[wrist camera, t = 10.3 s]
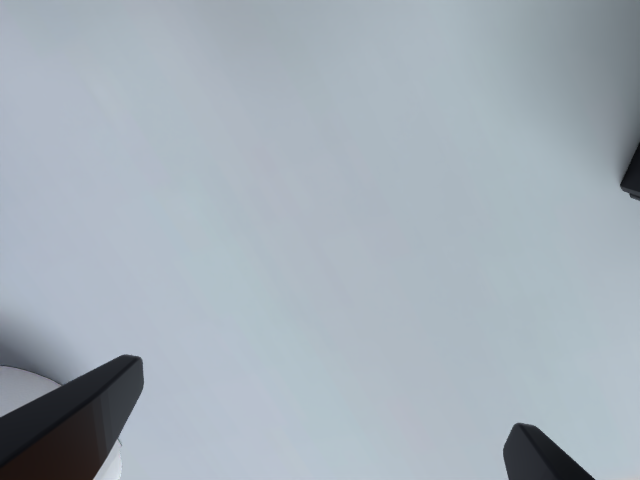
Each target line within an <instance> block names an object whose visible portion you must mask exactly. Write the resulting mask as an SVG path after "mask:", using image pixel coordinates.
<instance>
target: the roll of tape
mask: <svg viewBox="0 0 640 480" xmlns="http://www.w3.org/2000/svg"><path fill="white" fill-rule="evenodd" d="M60 386H61V385H60V384H58V383H56V382H55V381H53V380H51V379H48V378H46V377H43V376H40V375H38V374H35V373H33V372H29V371H25V370H22V369H18V368H13V367H7V366H0V417H1V416H3V415H5V414H7V413H9V412H11V411H13V410H15V409H17V408H19V407H21V406H23V405H25V404H27V403H29V402H31V401H33V400H35V399H37V398H39V397H41V396H43V395H45V394H47V393H49V392H50V391H52V390H54V389H56V388H58V387H60ZM121 448H122V446H121V444H120V442H119V440H118V439H117V440H116V442H115V444H114V446H113V448H112V450H111V452H110V453H109V455H108V457H107V459H106V460H105V462H104V463H103V465H102V467H101V468H100V470H99V471H98V473H97V474H96V476H95V478H94V479H93V480H119V479H120V476H121V471H122V461H121V455H120V450H121Z"/></svg>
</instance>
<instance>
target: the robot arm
mask: <svg viewBox="0 0 640 480" xmlns="http://www.w3.org/2000/svg"><path fill="white" fill-rule="evenodd" d="M620 186H621V189H622V190H623V191H624V192H628V193H630V197H631V198H633V199H636V200H639V201H640V143H639V145H638V147H637V149H636V152H635V154H634V156H633V158H632V160H631V163H630V165H629V167H628V169H627V171H626V174H625V176H624V178H623V180H622V182H621V185H620ZM143 385H144V376H143V362H142V359H141V357H138V356H133V355H127V354H125V355H121V356H119V357H117V358H115V359H113V360H111V361H109V362H107V363H105V364H103V365H101V366H100V367H98V368H96V369H94V370H92V371H90V372H88V373H86V374H84V375H82V376H80V377H78V378H76V379H74V380H72V381H70V382H68V383H66V384H64V385H62V386H60V387H58V388H56V389H54V390H52V391H50V392H49V393H47V394H45V395H43V396H41V397H39V398H37V399H35V400H33V401H31V402H29V403H27V404H25V405H23V406H21V407H19V408H17V409H15V410H13V411H11V412H9V413H7V414H5V415H3V416H1V417H0V480H93V479H94V478H95V476H96V474H97V473H98V471H99V470H100V468H101V467H102V465H103V463H104V462H105V460H106V459H107V457H108V455H109V453H110V452H111V450H112V448H113V446H114V444H115V442H116V440H117V439H118V437H119V435H120V433H121V431H122V429H123V427H124V425H125V423H126V421H127V419H128V417H129V416H130V414H131V412H132V410H133V408H134V406H135V404H136V402H137V400H138V398H139V396H140V394H141V392H142V390H143ZM503 457H504V462H505V466H506V470H507V474H508V478H509V480H595V479H594V478H593V477H592V476H591V475H590V474H589V473H587V472H586V471H585V470H584V469H583V468H582V467H581V466H580V465H579V464H577V463H576V462H575V461H574V460H573V459H572V458H571V457H570V456H569V455H567V454H566V453H565V452H564V451H563V450H562V449H561V448H560V447H559V446H557V445H556V444H555V443H554V442H553V441H552V440H551V439H550V438H549V437H548V436H546V435H545V434H544V433H543V432H542V431H541V430H540V429H539V428H537V427H536V426H534V425H529V424H524V423H516V424H515V425H514V426H513V428H512V430H511V432H510V434H509V436H508V439H507V441H506V443H505V445H504V449H503Z"/></svg>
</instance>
